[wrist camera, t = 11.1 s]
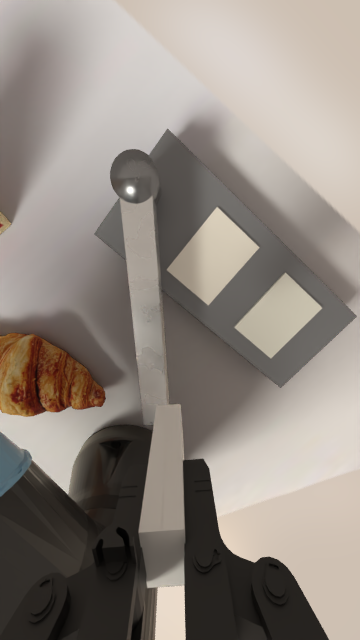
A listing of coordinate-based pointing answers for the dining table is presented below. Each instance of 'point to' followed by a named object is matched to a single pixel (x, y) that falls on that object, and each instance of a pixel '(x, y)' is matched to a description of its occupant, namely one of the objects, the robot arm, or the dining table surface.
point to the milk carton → (3, 223)
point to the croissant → (42, 378)
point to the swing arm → (143, 272)
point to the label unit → (233, 269)
